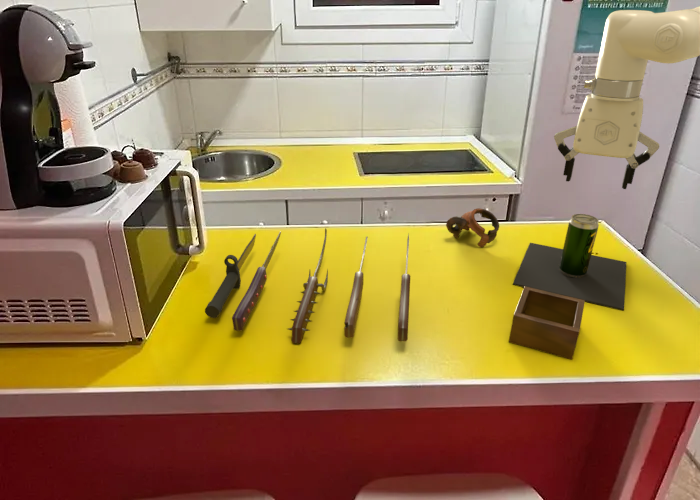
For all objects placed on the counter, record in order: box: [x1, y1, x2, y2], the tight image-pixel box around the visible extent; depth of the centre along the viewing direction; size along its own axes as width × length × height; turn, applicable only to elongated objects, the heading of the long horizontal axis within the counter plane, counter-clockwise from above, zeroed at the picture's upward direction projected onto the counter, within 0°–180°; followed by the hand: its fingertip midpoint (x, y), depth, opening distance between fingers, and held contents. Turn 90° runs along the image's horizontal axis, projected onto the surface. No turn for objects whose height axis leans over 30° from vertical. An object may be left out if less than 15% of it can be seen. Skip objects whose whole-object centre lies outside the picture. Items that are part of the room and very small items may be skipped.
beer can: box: [559, 213, 600, 278], centre depth 104 cm, size 5×5×12 cm
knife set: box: [204, 228, 411, 344], centre depth 98 cm, size 35×33×8 cm
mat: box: [512, 242, 627, 312], centre depth 107 cm, size 20×20×1 cm
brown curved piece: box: [445, 207, 500, 248], centre depth 119 cm, size 12×10×8 cm
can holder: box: [508, 286, 586, 360], centre depth 87 cm, size 10×10×6 cm
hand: (595, 183), depth 97 cm, fingers open, 9 cm apart
